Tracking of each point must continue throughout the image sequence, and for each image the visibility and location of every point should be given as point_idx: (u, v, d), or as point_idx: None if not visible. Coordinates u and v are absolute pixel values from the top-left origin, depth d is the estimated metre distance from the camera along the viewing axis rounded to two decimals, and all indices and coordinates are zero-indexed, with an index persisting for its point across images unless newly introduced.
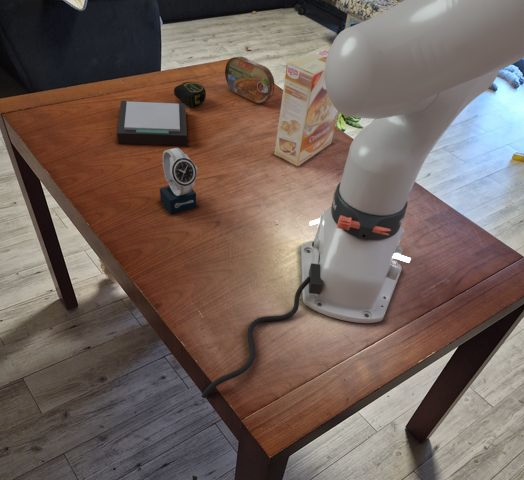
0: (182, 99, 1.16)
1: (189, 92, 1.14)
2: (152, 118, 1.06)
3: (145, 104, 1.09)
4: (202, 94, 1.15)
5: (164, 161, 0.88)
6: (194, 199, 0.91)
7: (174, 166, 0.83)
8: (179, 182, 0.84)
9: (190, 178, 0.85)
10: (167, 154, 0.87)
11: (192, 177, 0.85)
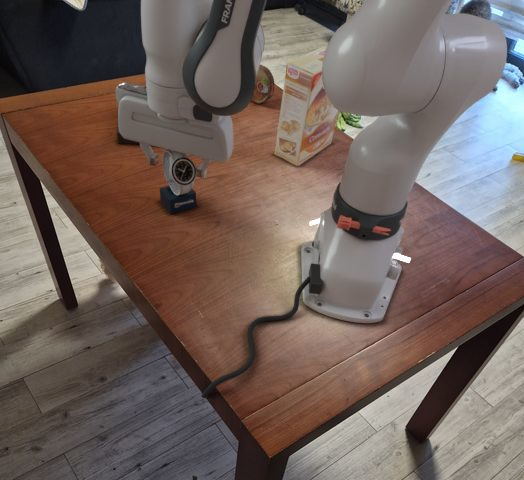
0: None
1: None
2: None
3: None
4: None
5: (164, 161, 0.88)
6: (194, 198, 0.91)
7: (173, 165, 0.83)
8: (179, 181, 0.84)
9: (190, 178, 0.85)
10: (167, 154, 0.87)
11: (192, 176, 0.85)
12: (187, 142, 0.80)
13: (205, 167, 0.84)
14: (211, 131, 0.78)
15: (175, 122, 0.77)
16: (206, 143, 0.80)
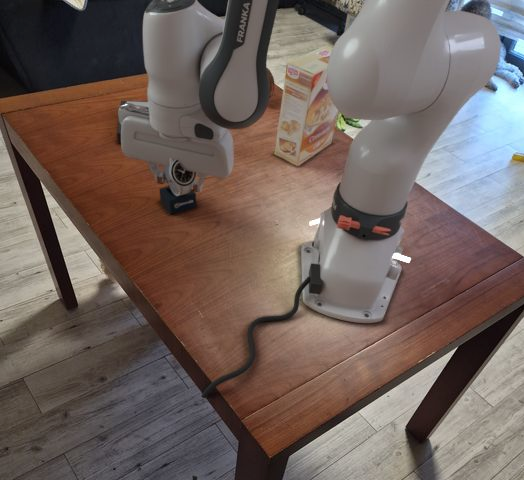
0: None
1: None
2: None
3: (145, 104, 1.09)
4: None
5: None
6: (194, 199, 0.91)
7: (173, 166, 0.83)
8: (178, 182, 0.84)
9: (190, 178, 0.85)
10: None
11: (191, 177, 0.85)
12: (189, 160, 0.82)
13: (201, 182, 0.86)
14: (212, 148, 0.80)
15: (177, 140, 0.79)
16: (208, 160, 0.82)
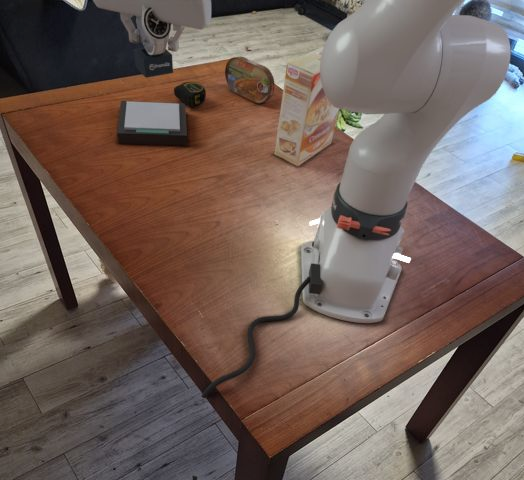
0: (182, 99, 1.16)
1: (189, 92, 1.14)
2: (152, 118, 1.06)
3: (145, 104, 1.09)
4: (202, 94, 1.15)
5: (138, 17, 0.83)
6: (170, 62, 0.86)
7: (146, 14, 0.78)
8: (152, 34, 0.80)
9: (164, 31, 0.81)
10: None
11: (166, 30, 0.81)
12: (163, 6, 0.78)
13: (176, 36, 0.82)
14: None
15: None
16: (183, 6, 0.77)
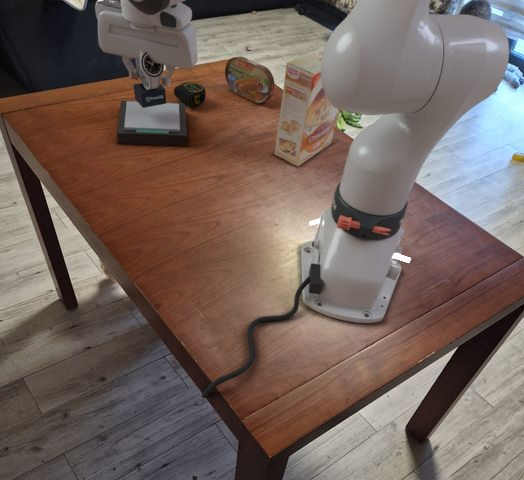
0: (182, 99, 1.16)
1: (189, 92, 1.14)
2: (152, 118, 1.06)
3: None
4: (202, 94, 1.15)
5: None
6: (163, 94, 1.03)
7: (143, 57, 0.95)
8: (148, 73, 0.96)
9: (158, 71, 0.97)
10: None
11: (160, 70, 0.97)
12: (157, 51, 0.95)
13: (168, 75, 0.98)
14: (177, 39, 0.92)
15: (146, 30, 0.91)
16: (173, 51, 0.94)
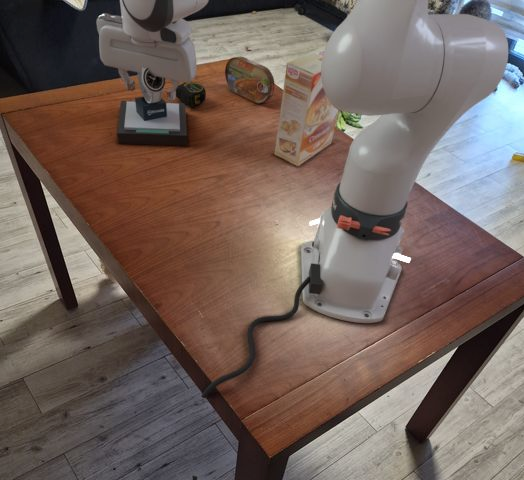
0: (182, 99, 1.16)
1: (189, 92, 1.14)
2: None
3: None
4: (202, 94, 1.15)
5: (139, 73, 1.02)
6: (164, 108, 1.05)
7: (145, 73, 0.97)
8: (149, 87, 0.99)
9: (160, 85, 1.00)
10: None
11: (161, 84, 1.00)
12: (157, 65, 0.96)
13: (173, 89, 1.00)
14: (176, 53, 0.94)
15: (146, 45, 0.93)
16: (173, 65, 0.96)
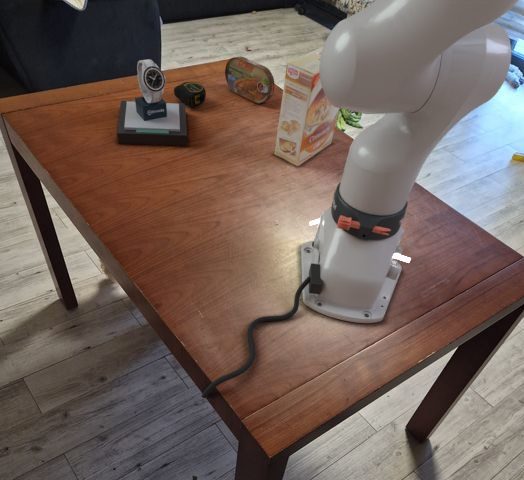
0: (182, 99, 1.16)
1: (189, 92, 1.14)
2: None
3: None
4: (202, 94, 1.15)
5: (139, 73, 1.02)
6: (164, 108, 1.05)
7: (145, 72, 0.97)
8: (149, 87, 0.99)
9: (160, 85, 1.00)
10: (141, 66, 1.01)
11: (161, 84, 1.00)
12: None
13: None
14: None
15: None
16: None
